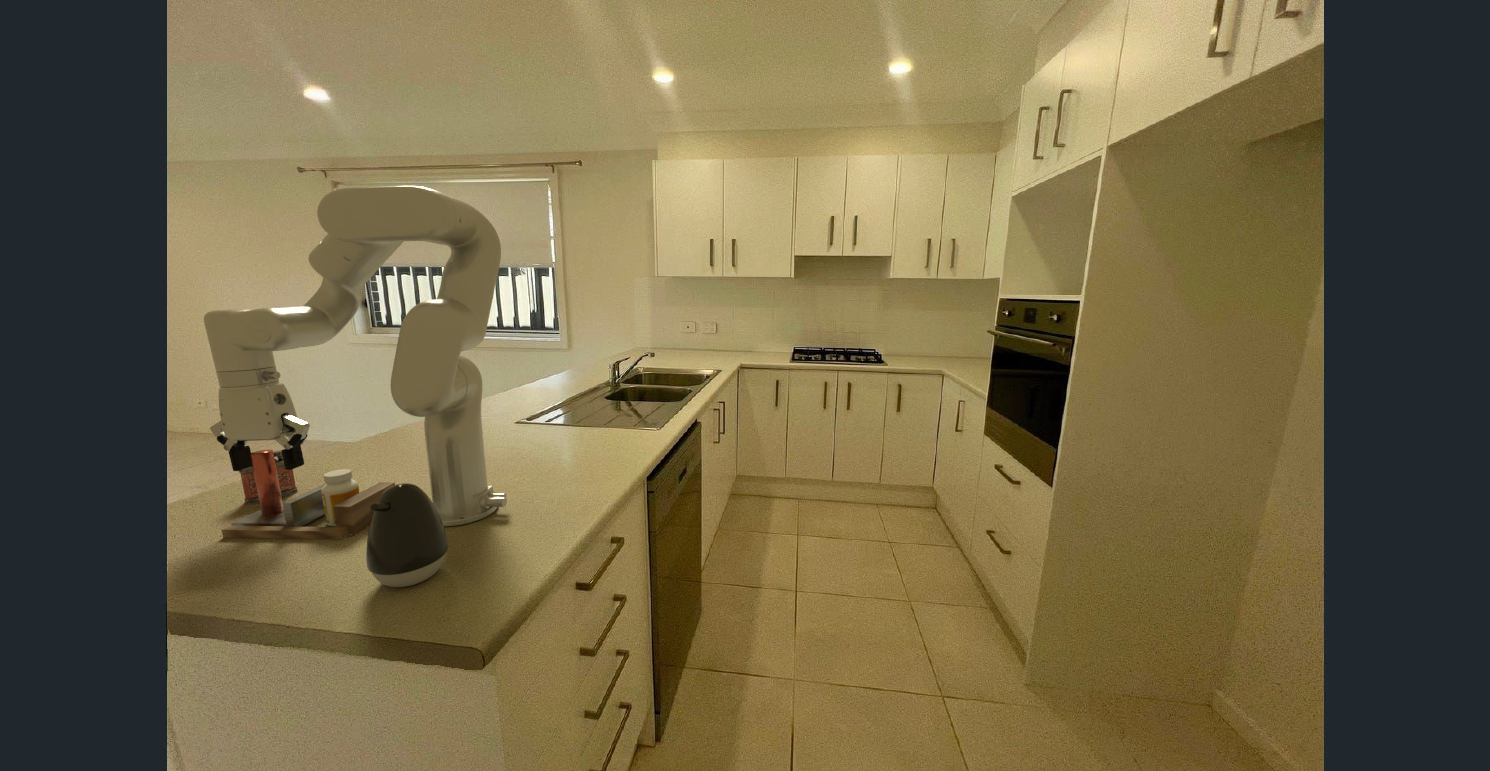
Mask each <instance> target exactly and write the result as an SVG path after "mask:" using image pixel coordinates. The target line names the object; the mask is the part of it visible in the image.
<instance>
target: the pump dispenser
mask: <svg viewBox="0 0 1490 771" xmlns="http://www.w3.org/2000/svg"><path fill="white" fill-rule="evenodd" d="M370 510H371V511H374V512H373V515H372V519H371V523H370V526H368V533H367V539H366V550H365V551H366V554H365V555H366V556H365V559H366V560H365V561H366V562H365V563H366V567H367V569H368V571H369V572H370V573H371V574H372V576H373V577H374V578H375V579H376V580H377V581H378V582H379V583H380V584H382V585H385V586H387V587H390V588H404V587H409V586H413V585H416V584H420V583H421V582H424V581H426V580H427V579H430V578H431V577H432V576H433V575H435V573H437V572H438V571H439V569H440V568H441V567H442V565H443V564H444V561H445V559H446V555H447V552H448V550H449V540H448V537H447V536H448V535H447V532H446V529H445V526H443V523H442V520H441V518H440V516H439V514H438V512H437V510H436V508H435V506H434V505H433V501H432V500H431V498H430V497H429V496H428V494H427V493H426V492H425V491H424V490H423V489H421V488H420V487H419V486H417V485H416V484H413V483H408V482H407V483H406V482H405V483H404V482H403V483H397V484H395V485H394V486H392V487H390V488H389V489H387V490H386V491H385V492H384V493H383V494H382V495H381V497H380V499H379V500H378V502H377V503H374V504H372V505H371V506H370Z"/></svg>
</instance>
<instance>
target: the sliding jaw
mask: <svg viewBox="0 0 1490 771" xmlns="http://www.w3.org/2000/svg"><path fill="white" fill-rule="evenodd" d="M273 451H274V450H273V449H261V450H256V451H253V452H252V451H251V454H250V455H251V461H252V466H253V471H254V476H255V481H256V486H257V492H258V497H259V502H258V503H259V506H260V509H259V510H257V511H255V512H252V513H249V514H247V515H245V516H243V517H241V518H239V519H237V520H234V521H232V522H230V526H288V527H305V526H306V525H307V524H309V523H312V522H314V521H316V520H317V519H319V518H321V517H322V516H325V511H324V506H323V500H322V494H321V489H322V487H323V486H324V485H326V484H327V483H323V484H322V485H320V486H317V487H315V488H313V489H311V490H309V491H306V492H304V493H302V494H299V495H297V497H295V496H294V497H295V498H293V497H292V498H293V499H291V498H289V499H290V500H289V499H287V500H285V501H283V498H282V497H281V491H280V486H279V480H278V475H277V469H276V464H275V459H276V457H274V453H273Z"/></svg>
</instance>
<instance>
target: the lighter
mask: <svg viewBox="0 0 1490 771" xmlns="http://www.w3.org/2000/svg"><path fill="white" fill-rule="evenodd" d="M282 450H283V449H278V450H273V453H274V458H275V464H276V469H277V475H278V480H279V486H280V491H281V497H282V496H283V497H285V496H289V495H293V494H296V493H297V492H299V491H298V487H297V486H296V481H295V475H294V469H292V470H286V469H285V465H284V461H283V456H282ZM238 473H239V474H240V477H241V478H240V479H241V484H242V488H243V493H244V504H245V503H252V504H256V503H255V502H257V503H260V502H259V497H258V492H257V486H256V481H255V476H254V471H253V466H251V467H248V468H245V469H243V470H240V471H238Z"/></svg>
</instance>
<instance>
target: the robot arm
mask: <svg viewBox="0 0 1490 771" xmlns="http://www.w3.org/2000/svg"><path fill="white" fill-rule="evenodd" d="M316 213H317V214H316V215H317V220H318V222H319V225H320V226H321V228H322V229H323V230H324V231H325V233H327V234H326V235H325V236H324V238H323V239H322V240H321V241H319V242H318V244H317V245H316V246H315V248H313V249H312V251H310V253H309V255H308V263H309V265H310V266H311V267H312V269H313V270H314V271H315V272H316V273H317V274H318V275H319V276H321V277H322V282H321V285H320V286H319V288H318V289H317V290H316V292H315V293H314V294H313V295H312V296H311V297H310V298H309V300H308V301H307V302H306V303H305V304H303V305H302V306H301V305H299V306H281V307H280V306H278V307H277V306H275V307H263V308H256V309H252V308H251V309H250V308H248V309H246V308H245V309H220V310H219V309H218V310H217V309H215V310H211V311H208V312H206V313H205V315H203V316H204V317H203V323H204V326H205V327H204V328H205V332H206V336H207V340H208V344H209V347H210V348H209V349H210V353H211V356H212V360H213V364H214V368H215V372H216V377H217V380H218V381H217V382H218V385H219V388H218V408H219V418H220V421H218V422H216V423H215V424H213V425H211V426H210V427H209V429H210V431H211V432H212V434H213V435H214V436H215V437H216V441H217V442H219V443H220V444H221V445H222V446H223V449H224V450H225V451H226V452H227V451H228V454H229V455H228V456H229V460H230V463H231V468H232V471H234V472H239V471H240V470H243V469H245V468H248V467H251V466H252V461H251V455H250V454H251V453H252V450H251V448H250V445H247V443H248V441H276V442H277V443H278V444H279V445H280V446H281V447H282V448H284V449H281V450H282V456H283V461H284V465H285V469H286V470H292V469H293V470H294V469H297V468H299V467H302V466H304V465H305V458H304V455H303V450H302V445H304V444H305V440H306V439H307V437H308V434H309V433H308V432H309V429H310V426H311V425H310V423H309V422H307V421H304V420H302V419H300V418H298V415H297V412H296V409H295V405H294V403H293V401H292V396H291V395H290V392H289V391H288V389H287V387H286V385H285V384H284V383H281V382H280V380H279V379H280V378H281V373H280V372H279V371H277V367H276V362H275V356H274V352H279V351H280V352H283V351H286V350H287V351H289V350H295V349H298V348H299V349H301V348H306V347H315V346H319V345H323V344H326V343H327V342H329V341H331V340H332V339H334V337H336V336H337V335H339V333H340V332H341V331H342V330H343V329H344V328H345V327H346V326H347V325H348V323H350V321H351V320H352V319H353V317H355V316H356V313H357V312H358V310H359V307H360V305H361V301H362V298H363V288H364V286H365V285H366V283H367V282H368V281H369V280H370V279H372V277H373V276H374V275H375V274H376V272H378V271H379V269H380V268H381V267H382V265H384V264H385V263H386V261H387V260H388V259H390V257H391V256H392V255H393V254H394V253H395V252H396V251H397V249H399V247H400V246H401V245H402V244H403V243H404V242H425V243H426V242H427V243H432V244H437V245H442V246H447V247H448V248H450V256H449V258H448V259H447V261H446V263H445V266H444V268H443V271H442V274H441V280H440V286H439V290H438V294H437V297H436V299H430V300H425V301H421V302H420V303H418V304H415V305H414V306H413V307H411V308H410V309H409V311H407V313H406V315H405V316H404V318H403V320H402V322H401V325H400V329H399V333H398V337H397V338H398V339H397V342H396V343H397V344H396V348H395V355H394V358H393V360H394V361H393V365H392V371H391V377H390V393H391V397H392V400H393V402H394V403H395V405H396V406H397V407H398V408H399V409H400V410H401V411H402V412H404V413H405V414H407V415H410V416H412V417H417V418H424V422H423V425H424V428H423V429H424V431H423V432H424V439H425V449H426V458H427V466H428V474H429V482H430V490H431V499H432V500H431V501H432V503H433V505H434V506H435V508H436V510H437V512H438V514H439V516H440V518H441V520H442V523H443V526H444V527H454V526H460V525H466V524H470V523H473V522H476V521H479V520H481V519H484V518H486V517H488V516H490V515H492V514H493V513H494V512H495V511H496V510H497V508H506V506H507V503H508V499H507V493H505V492H502V493H501V492H498V493H496V492H495V491H494V485H488V477H487V467H486V457H485V447H484V432H483V421H482V418H483V417H482V400H483V399H482V398H483V379H482V375H481V372H480V370H479V368H478V366H477V364H475V363H474V362H473V361H472V360H471V359H470V358H467V357H465V356H463V355H461V352H464V351H468V350H472V349H473V348H476V347H478V346H479V345H480V344H481V343H482V342H483V341H484V338H486V333H487V329H488V324H489V319H490V314H491V308H492V305H493V299H494V295H495V294H494V293H495V288H496V283H497V278H498V274H499V271H500V270H499V269H500V266H501V259H502V246H501V241H500V240H501V239H500V237H499V234H498V232H497V231H496V229H495V226H493V224H492V223H491V221H490V220H489V219H488V218H487V217H486V216H485V215H484V214H483V213H481V212H480V211H479V210H478V209H477V208H475V207H473V206H472V205H470V204H469V203H467V202H464V201H463V200H461V199H458V198H456V197H454V196H451V195H448V194H445V193H443V192H440V191H438V190H436V189H432V188H428V187H425V186H418V185H391V186H361V187H360V186H353V187H351V186H350V187H342V188H336V189H334V190H332V191H330V192H328V193H326V194H325V195H324V196H323V197H322V198H321V199H320V201H319V203H318V206H317V211H316ZM287 438H288V439H289V440H288V439H287Z"/></svg>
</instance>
